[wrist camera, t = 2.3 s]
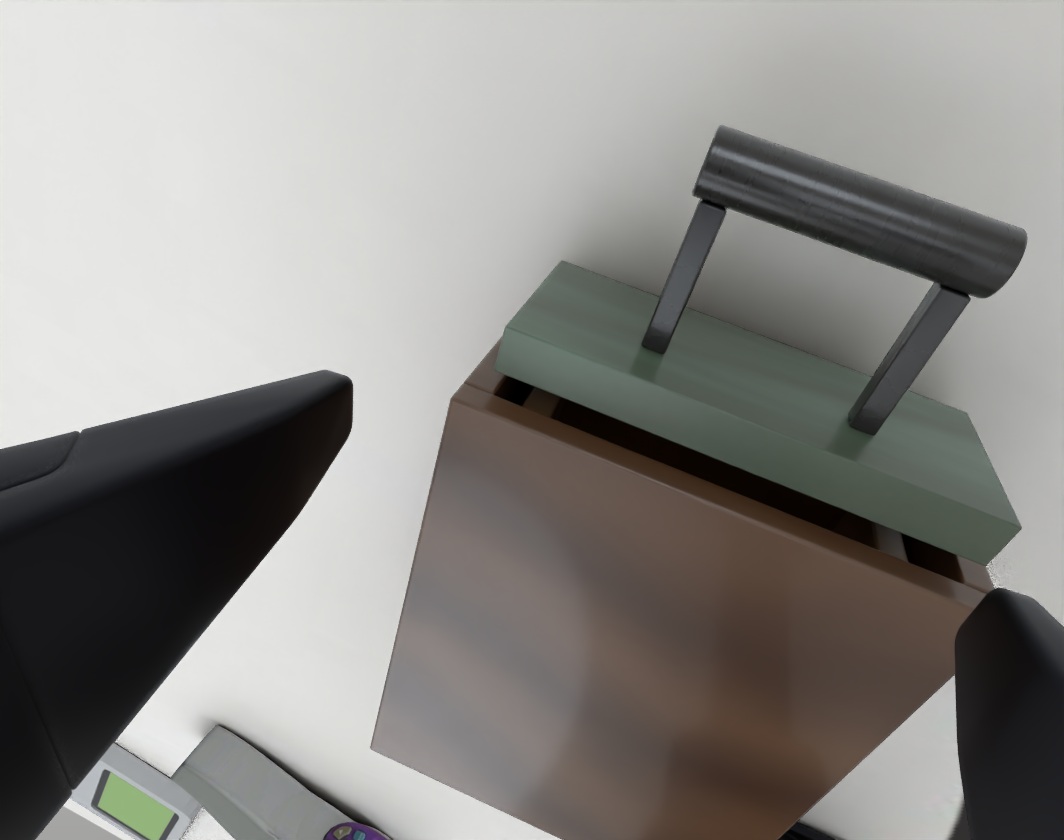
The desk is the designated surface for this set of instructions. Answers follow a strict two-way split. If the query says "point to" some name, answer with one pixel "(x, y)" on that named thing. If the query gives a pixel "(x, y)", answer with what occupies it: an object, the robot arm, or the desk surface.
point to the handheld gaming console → (136, 797)
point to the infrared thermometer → (259, 795)
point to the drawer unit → (646, 637)
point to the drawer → (785, 362)
